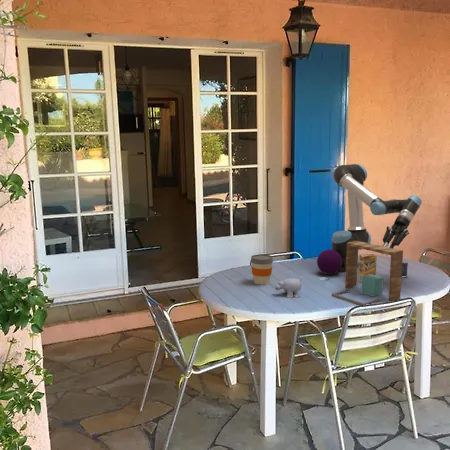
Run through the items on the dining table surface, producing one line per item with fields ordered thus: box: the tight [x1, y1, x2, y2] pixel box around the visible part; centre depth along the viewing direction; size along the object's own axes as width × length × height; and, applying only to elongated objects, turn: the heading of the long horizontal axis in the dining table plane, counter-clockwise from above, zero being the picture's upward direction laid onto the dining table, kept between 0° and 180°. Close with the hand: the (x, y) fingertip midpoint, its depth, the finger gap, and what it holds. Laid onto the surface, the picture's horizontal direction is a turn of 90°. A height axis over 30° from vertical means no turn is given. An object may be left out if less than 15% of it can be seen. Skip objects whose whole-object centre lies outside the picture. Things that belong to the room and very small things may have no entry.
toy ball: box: [316, 248, 342, 275], centre depth 296 cm, size 15×15×15 cm
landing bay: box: [331, 288, 381, 306], centre depth 254 cm, size 20×13×1 cm, turn 37°
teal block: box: [361, 274, 384, 297], centre depth 261 cm, size 8×7×9 cm
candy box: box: [358, 253, 378, 283], centre depth 282 cm, size 9×4×15 cm, turn 107°
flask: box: [402, 261, 409, 277], centre depth 289 cm, size 9×3×11 cm, turn 87°
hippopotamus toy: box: [274, 276, 303, 299], centre depth 260 cm, size 11×15×10 cm
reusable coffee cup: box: [250, 253, 274, 286], centre depth 281 cm, size 12×13×15 cm
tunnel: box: [344, 241, 404, 302], centre depth 260 cm, size 29×8×26 cm, turn 37°
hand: (383, 253), depth 264 cm, fingers open, 2 cm apart
